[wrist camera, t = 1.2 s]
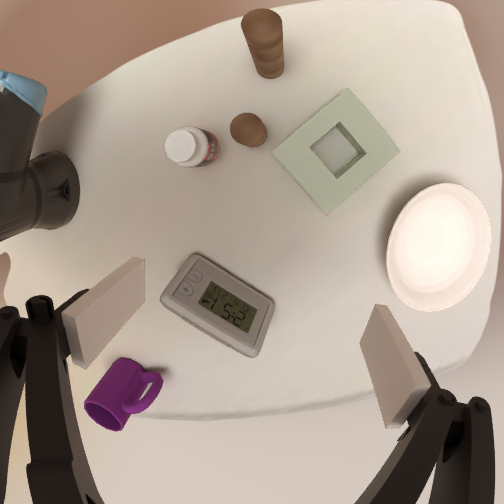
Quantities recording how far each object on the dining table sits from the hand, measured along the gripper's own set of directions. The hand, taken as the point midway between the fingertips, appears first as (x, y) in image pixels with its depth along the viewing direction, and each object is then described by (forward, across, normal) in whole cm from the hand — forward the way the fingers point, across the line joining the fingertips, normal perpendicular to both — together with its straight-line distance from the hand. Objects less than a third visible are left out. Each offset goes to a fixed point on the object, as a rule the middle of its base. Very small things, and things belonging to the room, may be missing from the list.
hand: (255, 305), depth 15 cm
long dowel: (+28, -4, +22) cm, 36 cm away
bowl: (+28, +26, +1) cm, 38 cm away
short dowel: (+28, -5, +11) cm, 31 cm away
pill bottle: (+28, -12, +8) cm, 32 cm away
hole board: (+28, +7, +10) cm, 31 cm away
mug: (+28, -22, -39) cm, 53 cm away
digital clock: (+28, -5, -14) cm, 32 cm away
